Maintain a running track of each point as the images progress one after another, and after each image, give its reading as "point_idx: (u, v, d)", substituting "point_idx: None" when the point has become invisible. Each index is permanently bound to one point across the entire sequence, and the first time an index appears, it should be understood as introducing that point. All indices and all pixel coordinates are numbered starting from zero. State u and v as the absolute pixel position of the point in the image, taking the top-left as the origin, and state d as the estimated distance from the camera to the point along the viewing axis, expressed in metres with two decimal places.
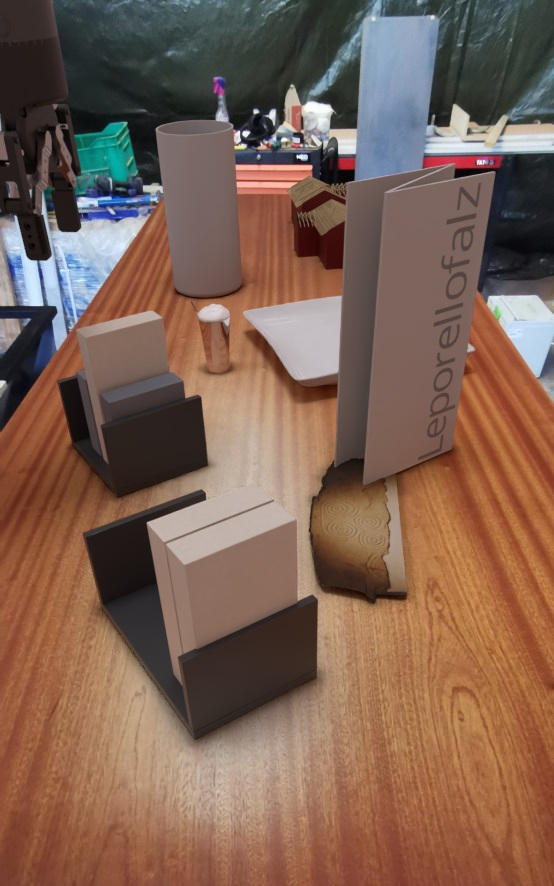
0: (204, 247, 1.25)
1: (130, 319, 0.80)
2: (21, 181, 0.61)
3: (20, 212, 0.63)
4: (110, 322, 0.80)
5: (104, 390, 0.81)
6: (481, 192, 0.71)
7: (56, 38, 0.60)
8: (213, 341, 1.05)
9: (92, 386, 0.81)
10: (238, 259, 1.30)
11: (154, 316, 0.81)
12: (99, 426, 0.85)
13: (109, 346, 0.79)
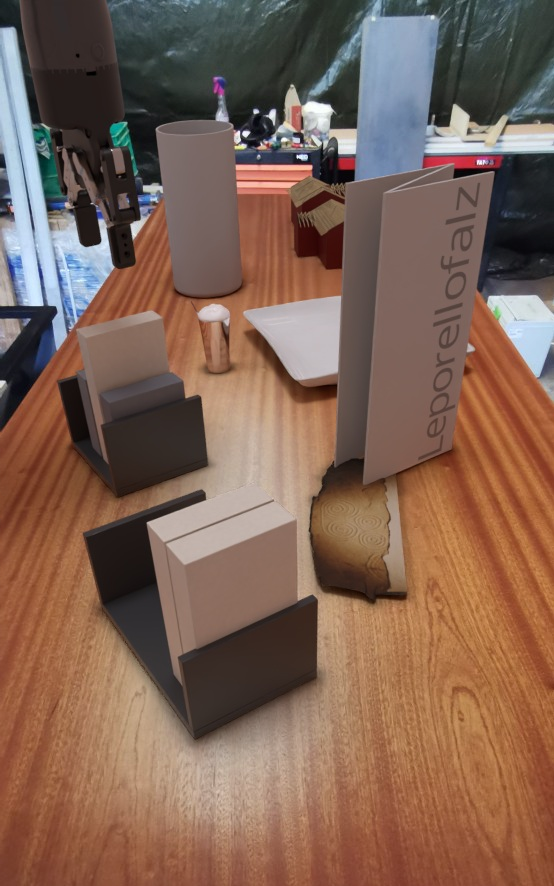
0: (204, 247, 1.25)
1: (130, 319, 0.80)
2: (136, 190, 0.66)
3: (132, 220, 0.68)
4: (110, 322, 0.80)
5: (104, 390, 0.81)
6: (480, 192, 0.71)
7: None
8: (213, 341, 1.05)
9: (92, 386, 0.81)
10: (238, 259, 1.30)
11: (154, 316, 0.81)
12: (99, 426, 0.85)
13: (109, 346, 0.79)
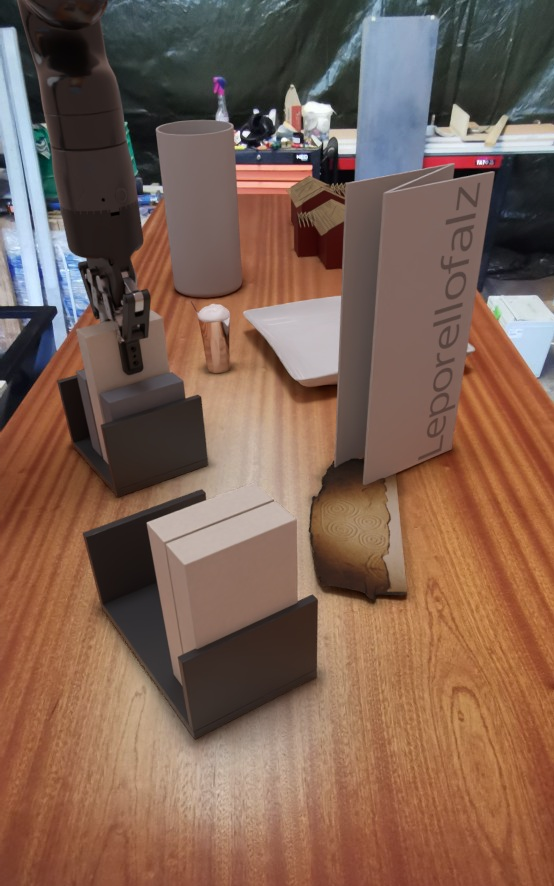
0: (204, 247, 1.25)
1: None
2: (148, 321, 0.76)
3: (140, 338, 0.77)
4: (110, 322, 0.80)
5: (104, 390, 0.81)
6: (480, 192, 0.71)
7: None
8: (213, 341, 1.05)
9: (92, 386, 0.81)
10: (238, 259, 1.30)
11: (154, 316, 0.81)
12: (99, 426, 0.85)
13: (109, 346, 0.79)
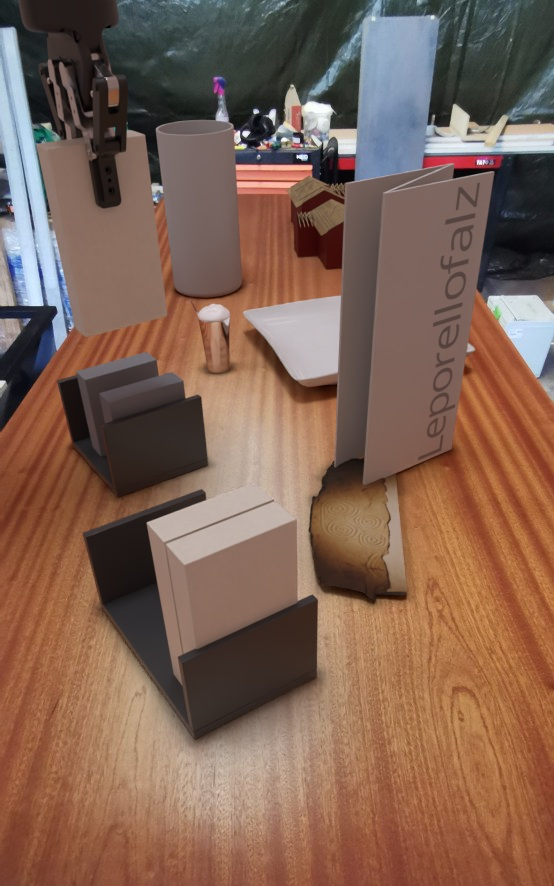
0: (204, 247, 1.25)
1: None
2: (126, 124, 0.60)
3: (116, 151, 0.61)
4: (79, 138, 0.64)
5: (73, 227, 0.66)
6: (479, 192, 0.71)
7: None
8: (213, 341, 1.05)
9: (58, 222, 0.66)
10: (238, 259, 1.30)
11: (134, 134, 0.65)
12: (68, 281, 0.70)
13: (78, 166, 0.63)
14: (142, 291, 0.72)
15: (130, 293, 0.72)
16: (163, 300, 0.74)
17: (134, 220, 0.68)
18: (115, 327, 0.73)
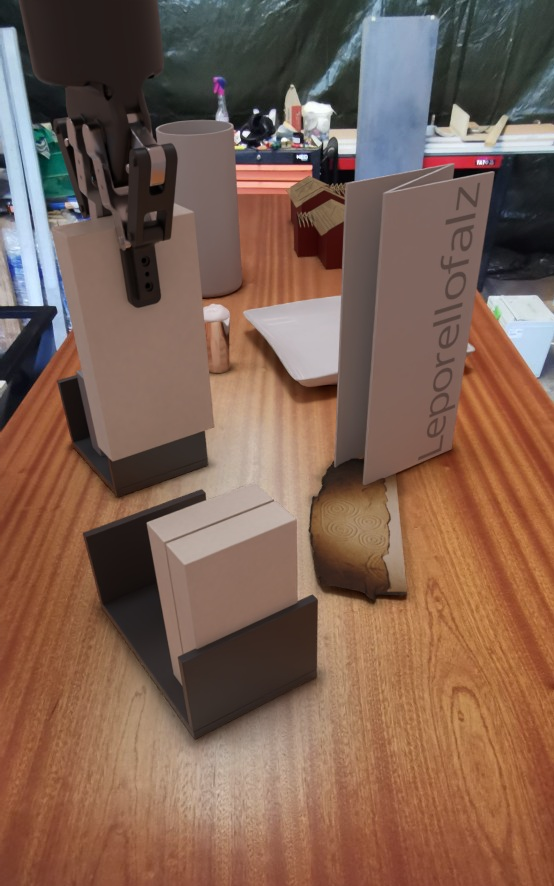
0: (204, 247, 1.25)
1: None
2: (173, 206, 0.44)
3: (158, 240, 0.46)
4: (108, 218, 0.48)
5: (98, 332, 0.50)
6: (480, 192, 0.71)
7: None
8: (213, 341, 1.05)
9: (79, 325, 0.50)
10: (238, 259, 1.30)
11: (180, 210, 0.49)
12: (91, 393, 0.54)
13: (106, 256, 0.47)
14: (184, 401, 0.57)
15: (170, 404, 0.56)
16: (209, 409, 0.58)
17: (177, 318, 0.53)
18: (149, 446, 0.57)
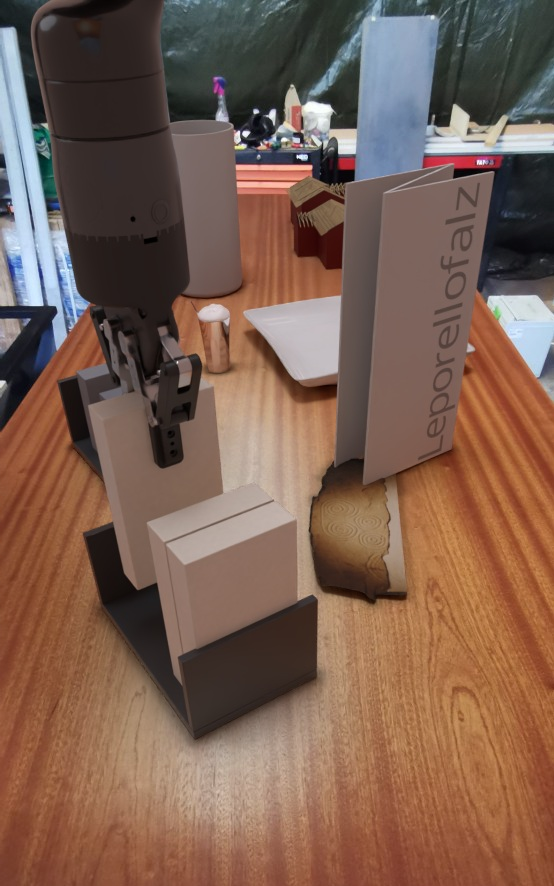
0: (204, 247, 1.25)
1: None
2: (197, 398, 0.50)
3: (183, 421, 0.52)
4: None
5: (128, 490, 0.56)
6: (480, 192, 0.71)
7: None
8: (213, 341, 1.05)
9: (111, 483, 0.56)
10: (238, 259, 1.30)
11: (201, 383, 0.55)
12: (119, 534, 0.60)
13: (136, 430, 0.54)
14: None
15: None
16: None
17: (197, 470, 0.59)
18: None
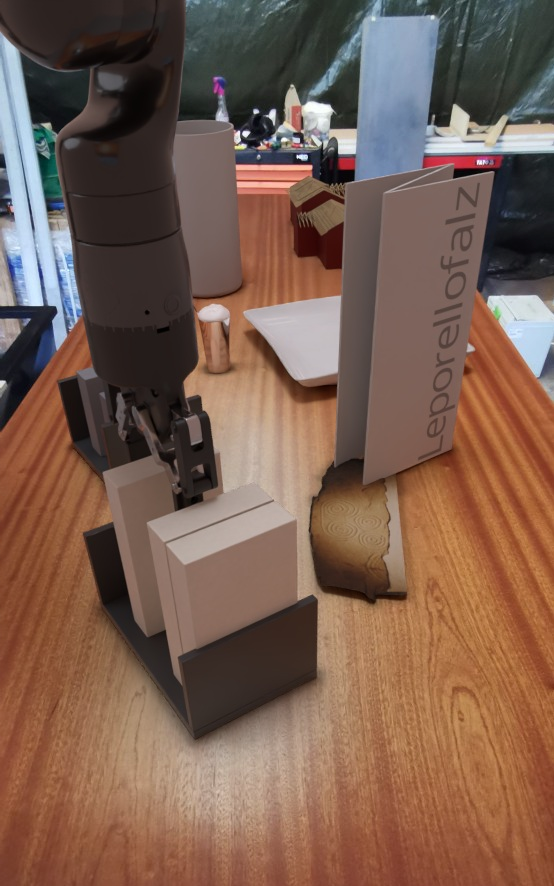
0: (204, 247, 1.25)
1: None
2: (214, 458, 0.52)
3: (207, 490, 0.53)
4: (149, 460, 0.58)
5: (140, 548, 0.60)
6: (480, 192, 0.71)
7: None
8: (213, 341, 1.05)
9: (123, 542, 0.60)
10: (238, 259, 1.30)
11: None
12: (131, 586, 0.64)
13: (147, 495, 0.57)
14: None
15: None
16: None
17: None
18: None
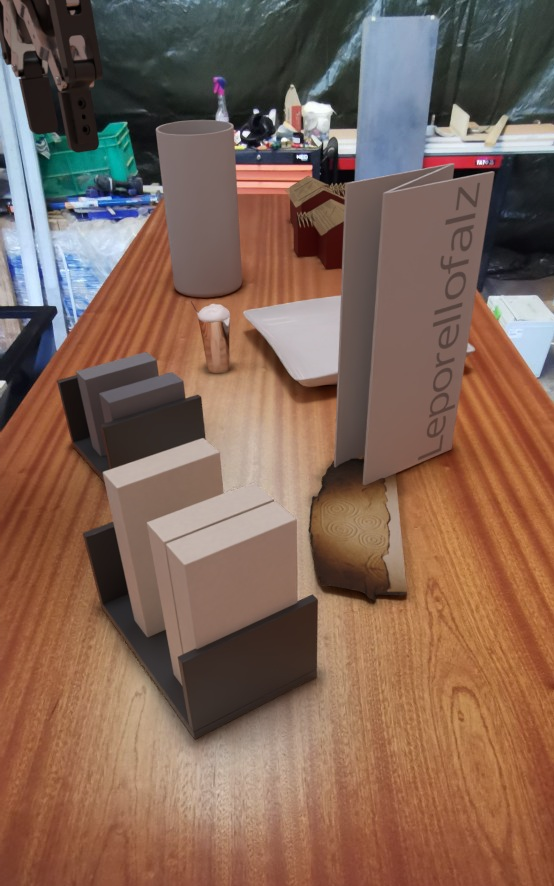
0: (204, 247, 1.25)
1: (175, 454, 0.59)
2: (95, 33, 0.49)
3: (91, 78, 0.50)
4: (149, 460, 0.58)
5: (140, 548, 0.60)
6: (480, 192, 0.71)
7: None
8: (213, 341, 1.05)
9: (123, 542, 0.60)
10: (238, 259, 1.30)
11: (208, 449, 0.59)
12: (131, 586, 0.64)
13: (147, 495, 0.57)
14: None
15: None
16: None
17: None
18: None
